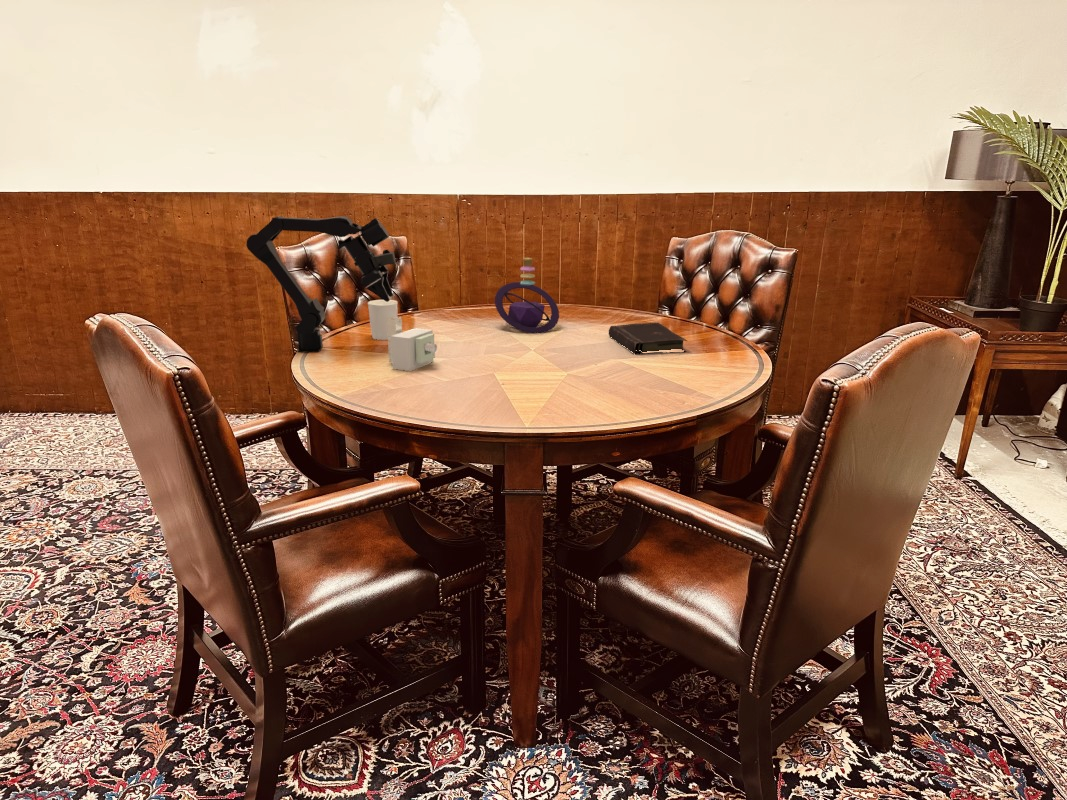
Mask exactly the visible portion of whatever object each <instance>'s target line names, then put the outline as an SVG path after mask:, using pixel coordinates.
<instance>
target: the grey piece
mask: <svg viewBox="0 0 1067 800" xmlns="http://www.w3.org/2000/svg"><path fill="white" fill-rule="evenodd" d="M387 330H388V340H387V342H388V343H387V345H388V346H387V348H388V362H389V363H392V348H391V336H393V335H396V334H399V333H402V332H403V320H402V317H400V316H399V317H398V316H397V317H390V318H387ZM424 347H425V351H428V352H437V350H438V346H437V344H436V343H434V344H431V343H427V344H424Z"/></svg>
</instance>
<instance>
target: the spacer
mask: <svg viewBox="0 0 1067 800" xmlns="http://www.w3.org/2000/svg"><path fill="white" fill-rule="evenodd" d="M427 343H431V344H435V334H427V335H424V336H421V337H419V338H416V361H417V363H423V362H426V361H428V360H431V359H435V358H436V353H435V352H428V351H426V353H425V347H424V344H427Z"/></svg>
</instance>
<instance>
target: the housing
mask: <svg viewBox="0 0 1067 800" xmlns="http://www.w3.org/2000/svg"><path fill="white" fill-rule="evenodd" d="M427 334H433V329H426V328H417V327H415V328H412V329H409V330H405V331H402V333H399V334H396V335H393V336H391V348H392V362H391V363H392V364H391V365H392V366H391V367H392V370H396V369H398V370H397V371H403V370H405V372H412V370H413V371H414V370H415V371H416V370H417V369H419V368H422V367H424V365H425V366H427V365H429V363H430V364H432V363H434V361H435V358H433V359H431V360H428V361H426V362H423V363H417V361H416V338H419V337H421V336H424V335H427ZM425 353H426V351H425ZM431 362H432V363H431Z"/></svg>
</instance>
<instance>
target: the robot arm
mask: <svg viewBox="0 0 1067 800" xmlns="http://www.w3.org/2000/svg"><path fill="white" fill-rule="evenodd" d="M283 231H284V232H285V231H289V232H309V233H311V232H312V233H313V232H314V233H321V234H322V233H323V234H326V235H329V236H333V237H338V238H344V237H347V236H348V237H347V238H345V239H344V240H343V239H339V240H338V241H337V242H338V244H337V250H341V249H343V248H345V250H346V251H347V253H348V254H349V256H350V257H351V258H352V259H351V260H352V261H353V262H354V263H353V264H354V266H355V267H358V269H359V271H360V272H361V274H362V275H361V279H360V284H361V286H362V287H363V288H365V289H366V290H368V291H369V292H371V293H372V294H375V296H377V297H378V298H379V299H381V300H385V301H386V302H388V301H390V300H391V299H390V297H393V296H394V293H393V291H392V288H391V285H390V283H389V280H388V275H389V267H388V266H387V265H395V264H396V263H397V260H396V258H395V253H394V251H390V250H389V248H388V249H383V251H382V253H380V254H375V252H373V251H371V250H370V249H369V248H368V246H372V247H376V246H377V245H378V244H380V243H382V242H384V241H386V240H387V239H389V238H390V235H389V232H388V231H387V229H386V227H385V226H384V225H383V224H382V223H381V222H380V221H379V219H378V217H374V218H373V219H372V220H370V221H369V222H368V223H366V224H364V226H362V225H360V224H357V223H355V222H353V221H352V219H351V218H350V217H348V216H345V215H341V216H333V217H327V218H307V217H304V218H303V217H288V216H287V217H285V216H284V217H283V216H280V215H279V216H274V217H273V218H271V220H270V221H269V222H268V223H267V224H266V225H265V226H264V227H263V228H262V229H260V230H259V231H258V232H257V233H254V234H251V235H250V236H249V237H247V239H246V245H245V246H246V247H247V250H248V251H249V252H250V253H251V254H252V255H253V256H254V257H255V258H256V259H257V260H259V261H260V262H262V263H263V264H264V265H265V266H266V267H267V268H268V270H270V272H271V273H272V275H273V276H274V278H275V279H276V280H277V282H278V283H279V285H281V287H282V288H283V290H284V291H285V292H286V294H287V295H288V296H289V298H290V300H292V302H293V303H294V304H295V307H296V310H297V313H298V316H299V318H300V319H301V321H300V322H298V324H297V325H296V326H294V329H295V330H296V335H297V345H298V349H297V351H296V352H297V353H319V352H320V351H321V350H322V349H323V347H324V344H323V343H324V342H323V334H322V333H321V330H320V329H319V327H320V325H321V323H323V322H324V321H325V318H326V312H325V307H324V306H323V305H322V304H321V303H320V301H319V299H318V298H317V297H315V298H313V299H312V298H311V297H310V296H308V295H307V294H306V292H305V291H304V289H303V288H302V287H301V285H300V284H299V283H298V281H297V280H296V278H295V277H294V276H293V275H292V273H291V272H290V270H288V268H287V266H286V265H285V264H284V263H283V261H282V260H281V258H280V257H279V254H278V251H277V248H276V246H275V244H274V242H273V241H275V239H276V238H277V237H279V235H280V233H282V232H283ZM358 233H360V234H359V235H357V236H355V237H353V236H352V235H356V234H358Z"/></svg>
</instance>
